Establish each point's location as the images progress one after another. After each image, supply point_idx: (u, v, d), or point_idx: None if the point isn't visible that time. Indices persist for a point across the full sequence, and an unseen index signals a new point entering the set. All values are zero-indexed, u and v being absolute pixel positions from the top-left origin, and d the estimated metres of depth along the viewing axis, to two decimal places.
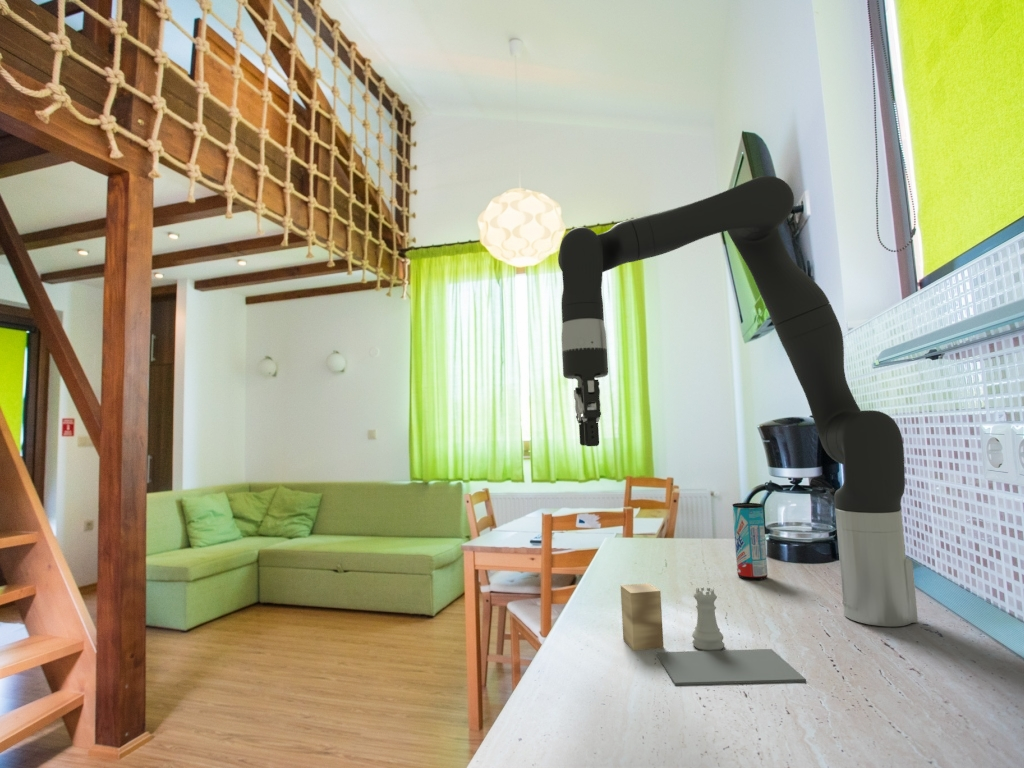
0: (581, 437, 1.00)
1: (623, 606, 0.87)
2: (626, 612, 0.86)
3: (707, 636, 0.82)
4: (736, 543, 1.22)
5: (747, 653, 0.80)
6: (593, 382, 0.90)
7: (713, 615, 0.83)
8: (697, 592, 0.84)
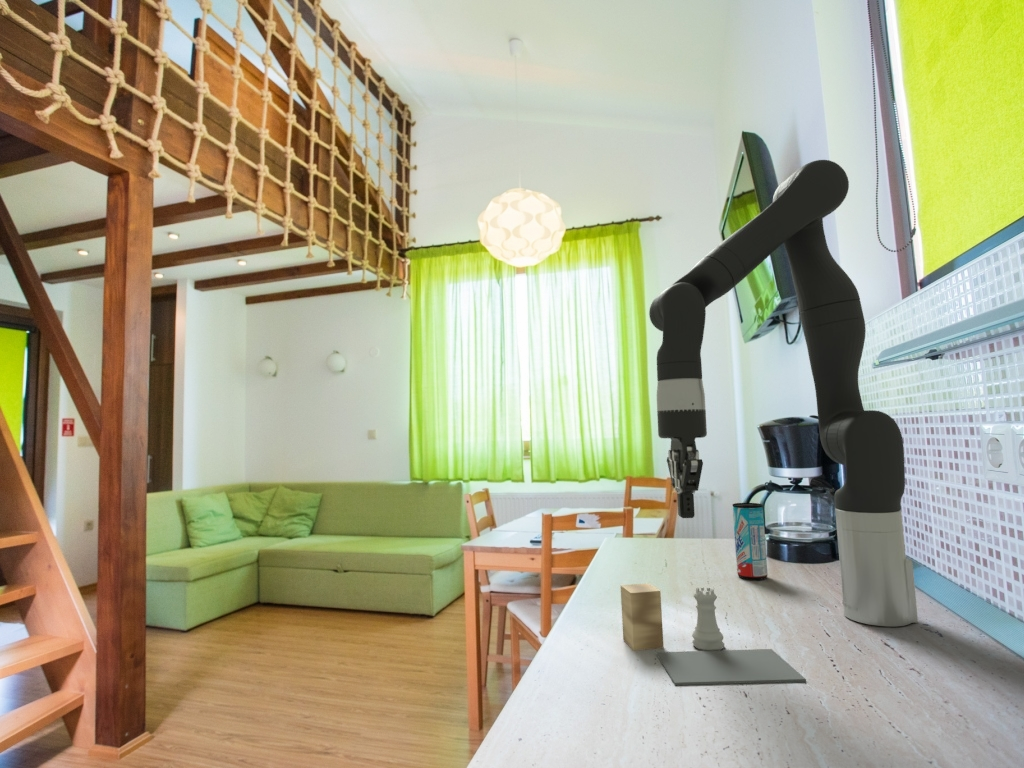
0: None
1: (623, 606, 0.87)
2: (626, 612, 0.86)
3: (707, 636, 0.82)
4: (736, 543, 1.22)
5: (747, 653, 0.80)
6: (697, 465, 0.87)
7: (713, 615, 0.83)
8: (697, 592, 0.84)
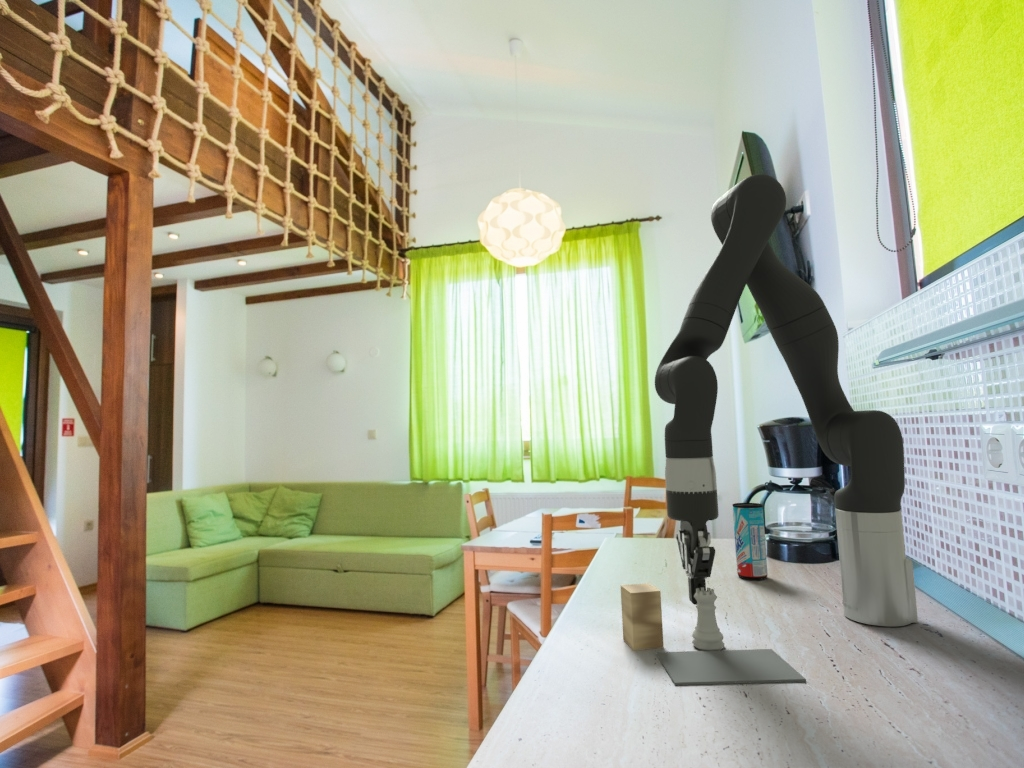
0: None
1: (623, 606, 0.87)
2: (626, 612, 0.86)
3: (707, 636, 0.82)
4: (736, 543, 1.22)
5: (747, 653, 0.80)
6: (709, 553, 0.82)
7: (713, 615, 0.83)
8: (697, 592, 0.84)
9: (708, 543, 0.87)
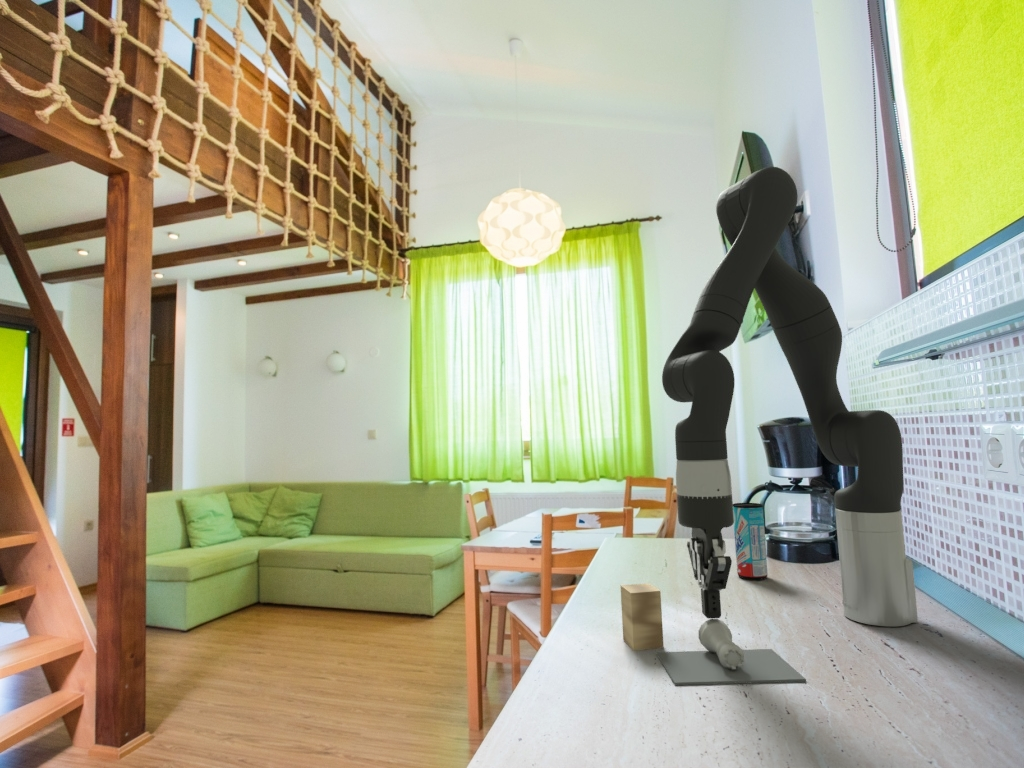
0: None
1: (623, 606, 0.87)
2: (626, 612, 0.86)
3: (713, 651, 0.80)
4: (736, 543, 1.22)
5: (747, 653, 0.80)
6: (725, 564, 0.76)
7: None
8: (724, 660, 0.74)
9: (723, 552, 0.80)
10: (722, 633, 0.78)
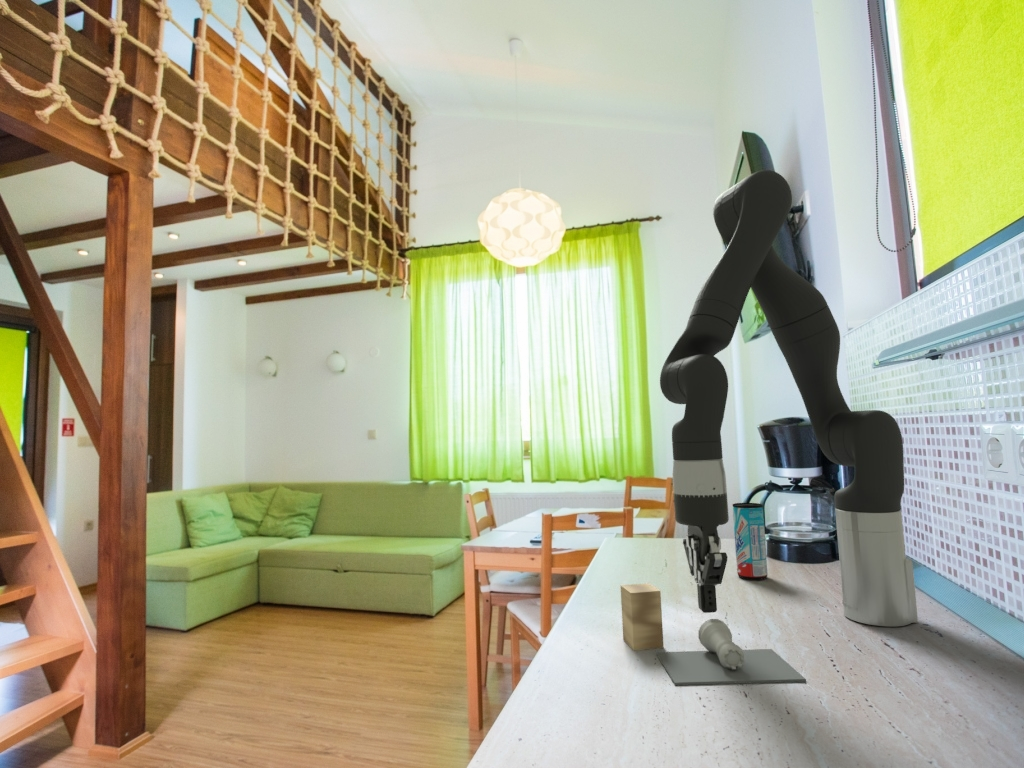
0: None
1: (623, 606, 0.87)
2: (626, 612, 0.86)
3: (713, 651, 0.80)
4: (736, 543, 1.22)
5: (747, 653, 0.80)
6: (721, 560, 0.79)
7: None
8: (724, 660, 0.74)
9: (718, 548, 0.83)
10: (722, 633, 0.78)
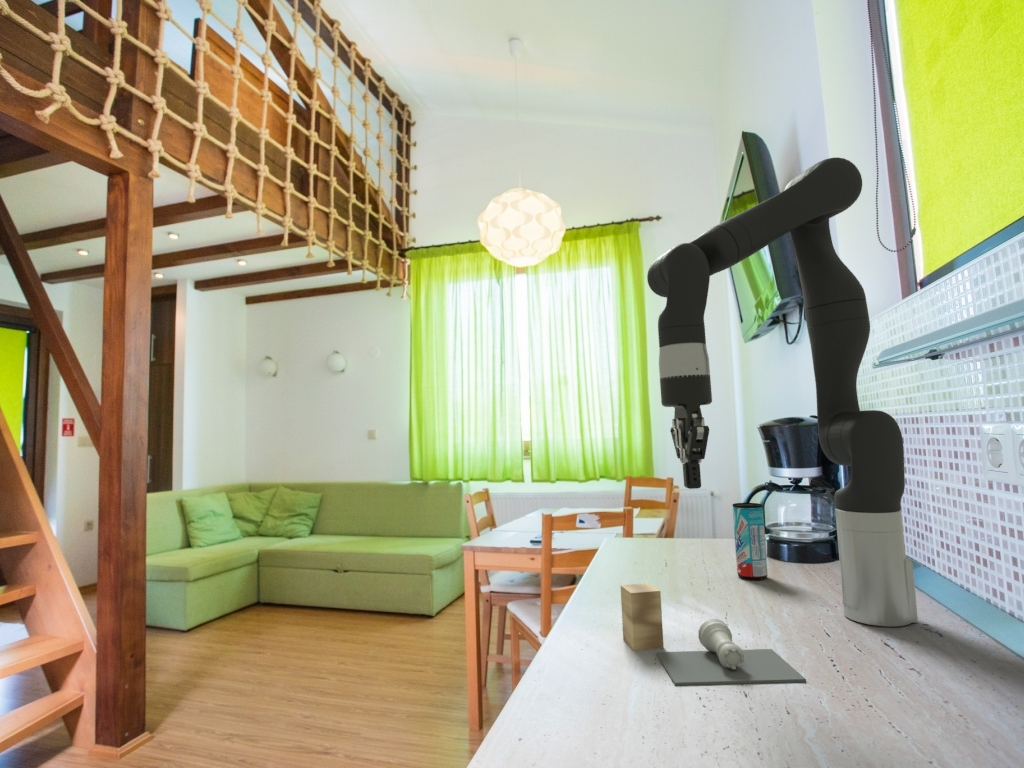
0: None
1: (623, 606, 0.87)
2: (626, 612, 0.86)
3: (713, 651, 0.80)
4: (736, 543, 1.22)
5: (747, 653, 0.80)
6: (703, 432, 0.83)
7: None
8: (724, 660, 0.74)
9: None
10: (722, 633, 0.78)
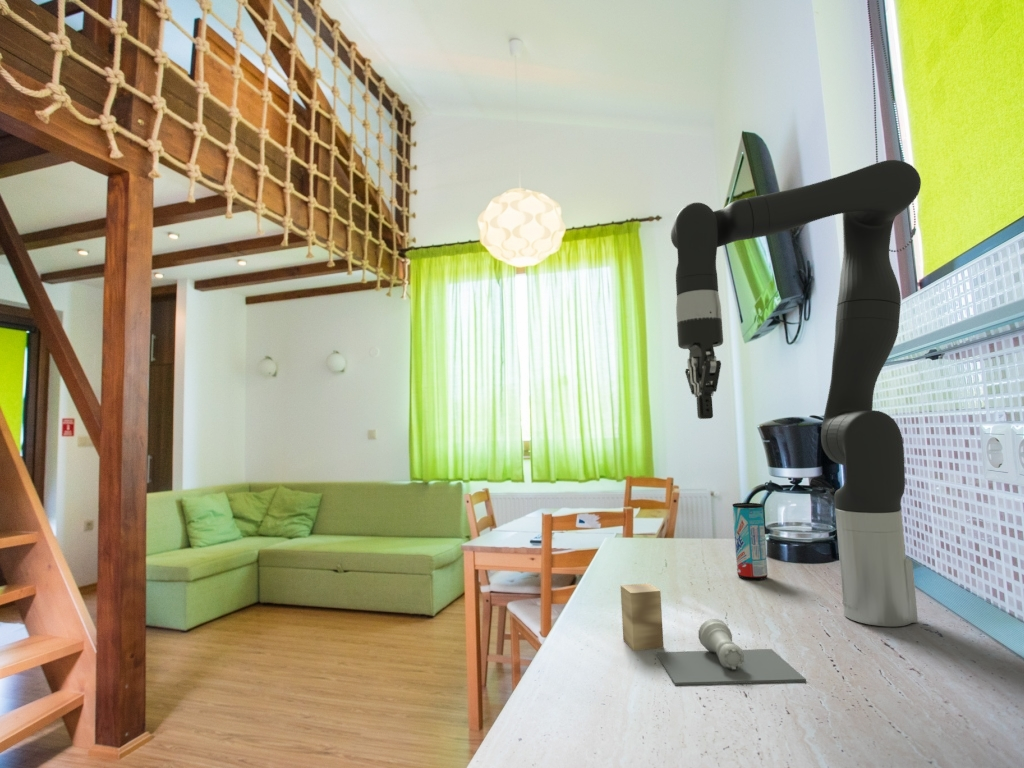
0: None
1: (623, 606, 0.87)
2: (626, 612, 0.86)
3: (713, 651, 0.80)
4: (736, 543, 1.22)
5: (747, 653, 0.80)
6: (716, 365, 0.95)
7: None
8: (724, 660, 0.74)
9: None
10: (722, 633, 0.78)
